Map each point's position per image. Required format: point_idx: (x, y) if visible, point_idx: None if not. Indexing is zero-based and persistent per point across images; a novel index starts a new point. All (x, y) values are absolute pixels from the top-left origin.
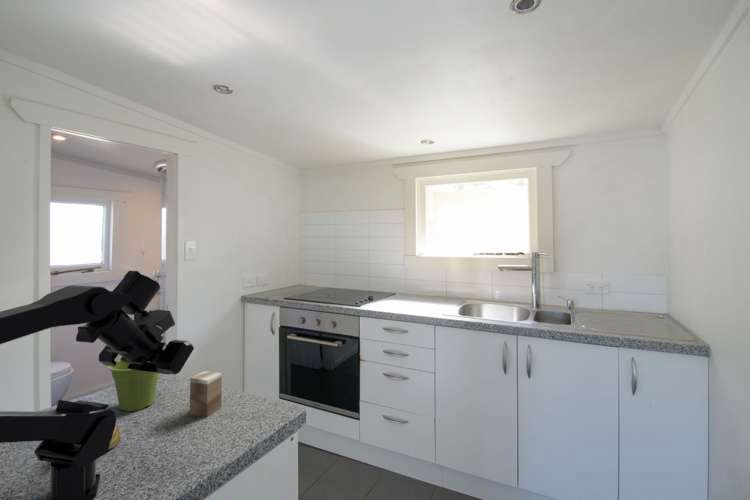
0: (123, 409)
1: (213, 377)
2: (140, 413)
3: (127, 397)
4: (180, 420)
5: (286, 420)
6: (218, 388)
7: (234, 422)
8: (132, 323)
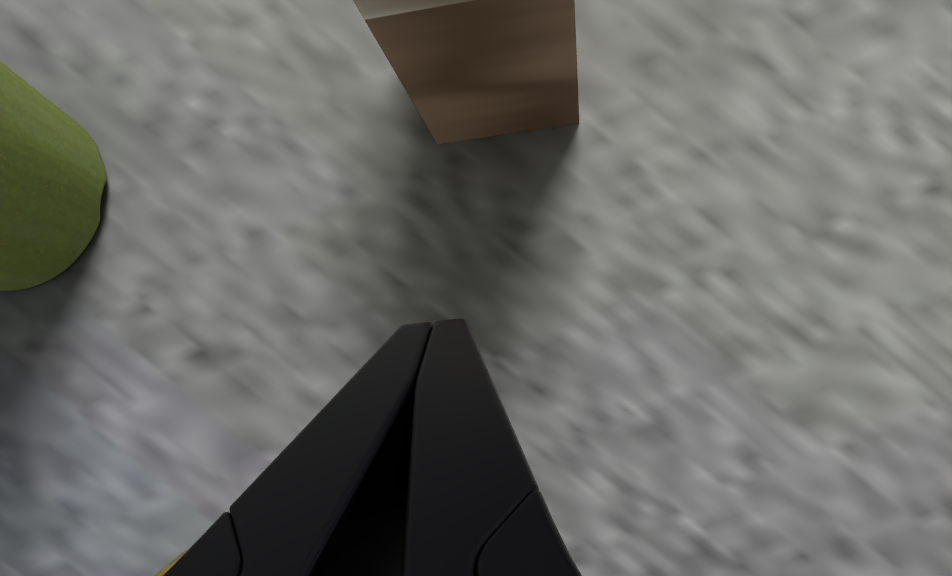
0: (9, 290)
1: None
2: (133, 264)
3: None
4: (446, 225)
5: None
6: None
7: (820, 94)
8: None
